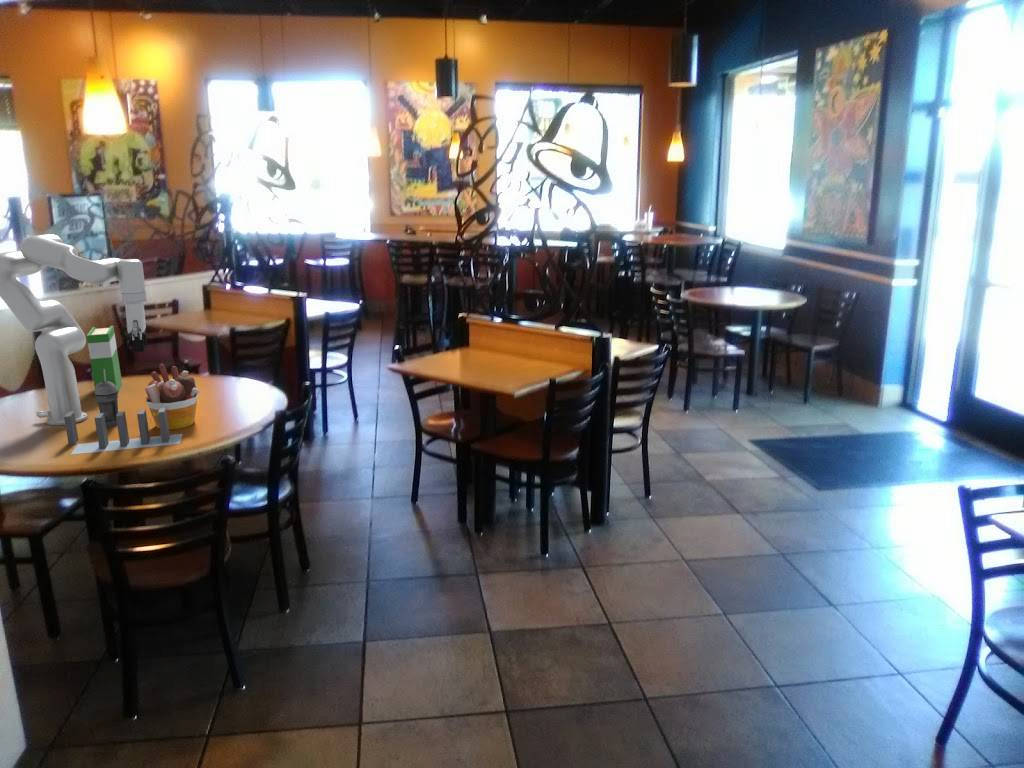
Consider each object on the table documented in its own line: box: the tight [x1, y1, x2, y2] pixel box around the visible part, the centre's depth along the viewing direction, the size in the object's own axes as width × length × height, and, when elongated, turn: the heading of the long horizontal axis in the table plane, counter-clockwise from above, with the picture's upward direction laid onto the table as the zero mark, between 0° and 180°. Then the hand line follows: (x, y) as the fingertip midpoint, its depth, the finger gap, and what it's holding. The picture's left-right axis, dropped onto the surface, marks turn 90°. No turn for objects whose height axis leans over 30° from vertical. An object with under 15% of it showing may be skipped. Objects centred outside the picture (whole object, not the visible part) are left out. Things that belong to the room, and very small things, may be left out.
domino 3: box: [116, 410, 130, 447], centre depth 254 cm, size 2×5×10 cm, turn 16°
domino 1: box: [64, 412, 79, 446], centre depth 257 cm, size 2×5×10 cm, turn 16°
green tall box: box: [86, 325, 123, 394], centre depth 317 cm, size 18×7×24 cm, turn 20°
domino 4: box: [136, 408, 151, 445], centre depth 256 cm, size 2×5×10 cm, turn 16°
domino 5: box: [158, 407, 171, 443], centre depth 257 cm, size 2×5×10 cm, turn 16°
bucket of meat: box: [144, 363, 201, 431], centre depth 272 cm, size 20×16×20 cm
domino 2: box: [94, 412, 109, 449], centre depth 253 cm, size 2×5×10 cm, turn 16°
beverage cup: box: [94, 369, 119, 429], centre depth 273 cm, size 7×7×20 cm
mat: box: [70, 433, 184, 456], centre depth 256 cm, size 31×10×1 cm, turn 106°
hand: (140, 348), depth 272 cm, fingers open, 9 cm apart
